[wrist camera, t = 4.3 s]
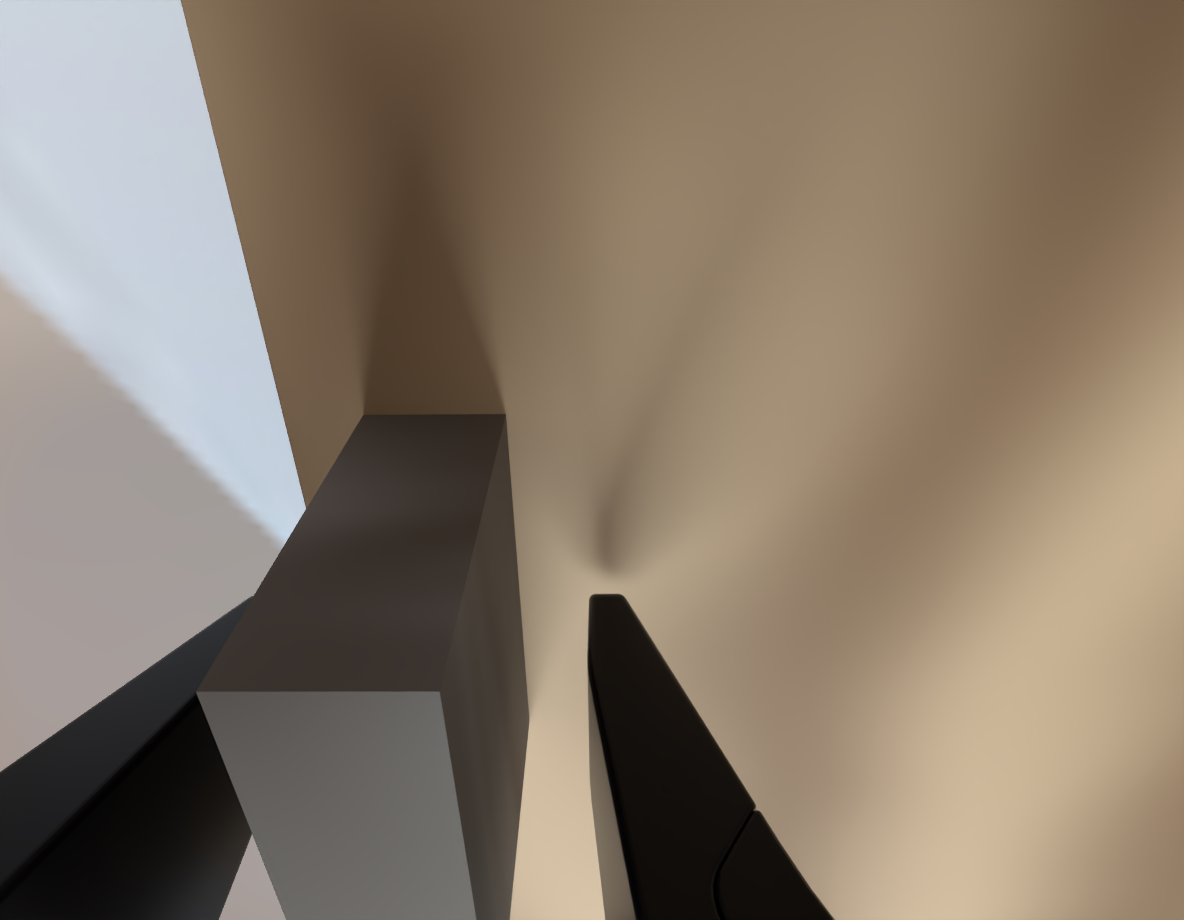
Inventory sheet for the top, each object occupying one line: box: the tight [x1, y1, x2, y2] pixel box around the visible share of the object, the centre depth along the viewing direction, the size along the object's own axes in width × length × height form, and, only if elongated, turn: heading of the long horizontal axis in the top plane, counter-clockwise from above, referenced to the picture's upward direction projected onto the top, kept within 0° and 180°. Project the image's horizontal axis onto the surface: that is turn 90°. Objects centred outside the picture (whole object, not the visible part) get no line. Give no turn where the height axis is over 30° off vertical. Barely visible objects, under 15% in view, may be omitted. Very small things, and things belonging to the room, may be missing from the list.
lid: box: [181, 0, 1184, 920], centre depth 8 cm, size 14×16×5 cm
